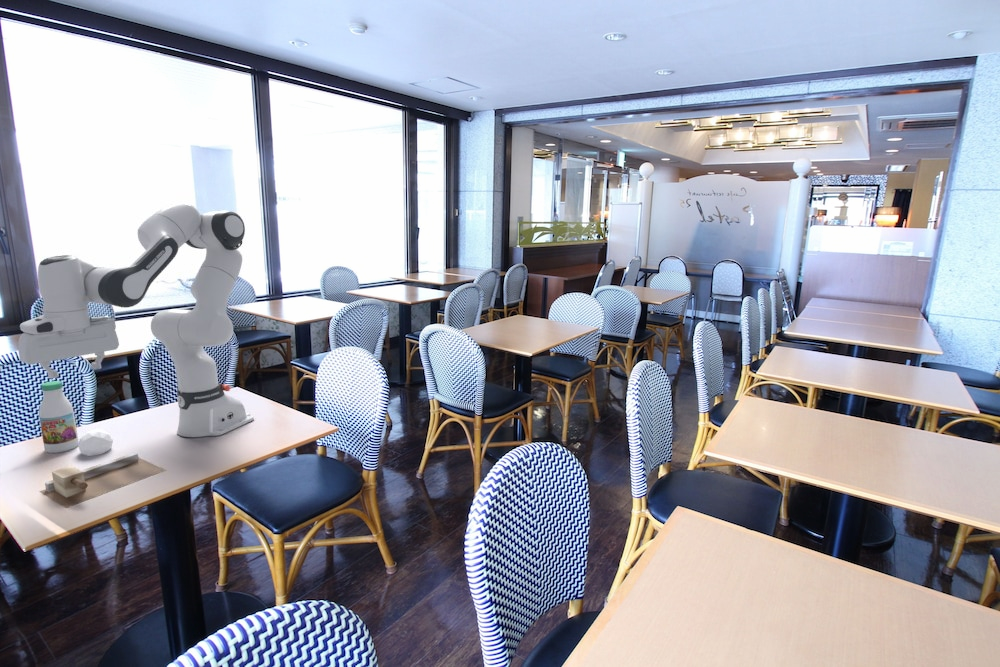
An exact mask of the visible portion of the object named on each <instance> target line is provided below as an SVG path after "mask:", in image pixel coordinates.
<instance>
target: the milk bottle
mask: <svg viewBox="0 0 1000 667" xmlns="http://www.w3.org/2000/svg"><path fill="white" fill-rule="evenodd" d="M63 386H64V385H63V382H62V381H61V380H55V381H54V380H52V381H47V382H43V383H41V385H40V389H41V392H42V393H43V397H42V401H41V403H40V406H39V408H38V415H39V416H38V418H39V424H40V429H41V430H40V431H41V437H42V442H43V448H44V451H45V452H46V453H49V454H53V453H54V454H56V453H63V452H67V451H71V450H73V449H75V448H77V447H78V444H79V436H78V429H77V425H76V424H77V423H76V416H75V412H74V408H73V405H72V403H71V401H69V399H68V398H67V397H66V395H65V393H64V391H63V390H64V387H63Z"/></svg>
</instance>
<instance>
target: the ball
mask: <svg viewBox="0 0 1000 667" xmlns="http://www.w3.org/2000/svg"><path fill="white" fill-rule="evenodd" d="M78 442H79V444H78V446H77V447H78V449H79V452H80V453H81V455H83V456H87V457H88V456H89V457H92V456H98V455H99V456H100V455H102V454H104V453H107V452H109V451H110V450H111V449H112V446H113V442H114V439H113V438H112V436H111V434H110V433H109V432H107V431H106V430H104V429H96V428H95V429H92V430H90V431H89V430H88V431H87V432H85V433H83V435H82V436H81V437H80V438H79V439H78Z"/></svg>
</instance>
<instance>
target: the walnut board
mask: <svg viewBox="0 0 1000 667" xmlns="http://www.w3.org/2000/svg"><path fill="white" fill-rule="evenodd" d="M80 470H81V469H80ZM81 471H83V474H84V480H85V483H86V484H87V485H88V486H87V488H86V491H83V492H80V493H78V494H75V495H72V496H69V497H67V498H66V497H65V496H63V495H61V494H60V493H58V492H56V491H55V488H54V482H53V479H52V480H49V481H47V482H44V485H45V489H42V490H40V491H39V492H40V493H41V494H43V495H44V496H46V497H48V498H49V499H51V500H53V501H54V502H56V503H57V504H59V505H60V506H62V507H64V508H65V509H67V508H70V507H73V506H75V505H78V504H81V503H83V502H86V501H89V500H92V499H95V498H97V497H99V496H102V495H104V494H108V493H110V492H112V491H116V490H118V489H120V488H124V487H126V486H129V485H131V484H134V483H136V482H139V481H142V480H144V479H147V478H149V477H152V476H155V475H158V474H160V473H163V472H166V471H167V469H166V468H163V467H160V466H158V465H156V464H154V463H152V462H149V461H147V460H145V459H143V458H141V457H139V454H138V453H137V452H133V453H129V454H127V455H124V456H120V457H116V458H115V459H112V460H109V461H106V462H103V463H100V464H97V465H95V466H90V467H88V468H85V469H83V470H81Z"/></svg>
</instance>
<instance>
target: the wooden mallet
mask: <svg viewBox="0 0 1000 667" xmlns="http://www.w3.org/2000/svg"><path fill="white" fill-rule="evenodd" d="M51 476H52V480H53V482H54V488H55V491H56V492H58V493H60V494H61V495H63V496H65V497H66V498H67V497H69V496H72V495H75V494H78V493H80V492H83V491H86V488H87V486H88V485H87V484H86V483H85V480H84V474H83V471H81V469H79V468H77V467H76V466H73V465H68V466H66V467H61V468H58V469H57V470H53V471H51Z"/></svg>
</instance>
